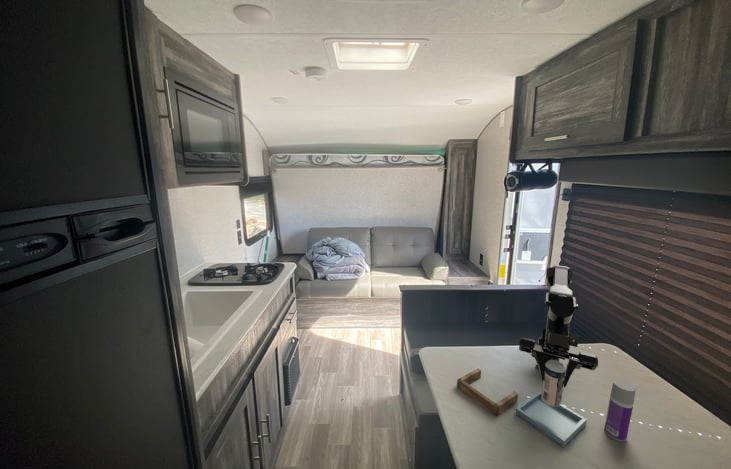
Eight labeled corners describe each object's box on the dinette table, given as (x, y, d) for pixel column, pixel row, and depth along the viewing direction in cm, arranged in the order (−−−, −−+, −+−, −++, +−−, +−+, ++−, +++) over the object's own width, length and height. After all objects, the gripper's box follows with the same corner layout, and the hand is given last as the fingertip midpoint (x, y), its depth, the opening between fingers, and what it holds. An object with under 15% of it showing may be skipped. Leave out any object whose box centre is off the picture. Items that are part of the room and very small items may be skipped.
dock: (477, 376, 103) (478, 368, 102) (517, 402, 91) (518, 393, 90) (456, 387, 97) (457, 379, 96) (496, 416, 85) (497, 407, 85)
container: (630, 443, 77) (641, 392, 74) (610, 439, 78) (619, 390, 75) (619, 428, 81) (628, 380, 79) (600, 425, 82) (608, 378, 79)
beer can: (561, 410, 80) (567, 371, 78) (541, 404, 82) (546, 366, 80) (559, 399, 84) (565, 361, 82) (540, 393, 87) (545, 356, 84)
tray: (538, 396, 93) (539, 391, 93) (585, 425, 82) (586, 419, 82) (514, 413, 86) (515, 407, 86) (563, 447, 75) (564, 441, 75)
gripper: (523, 312, 87) (516, 365, 80) (602, 329, 78) (602, 391, 70) (522, 325, 95) (515, 374, 88) (594, 341, 86) (593, 398, 79)
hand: (553, 383), depth 81 cm, fingers closed on beer can, 5 cm apart
